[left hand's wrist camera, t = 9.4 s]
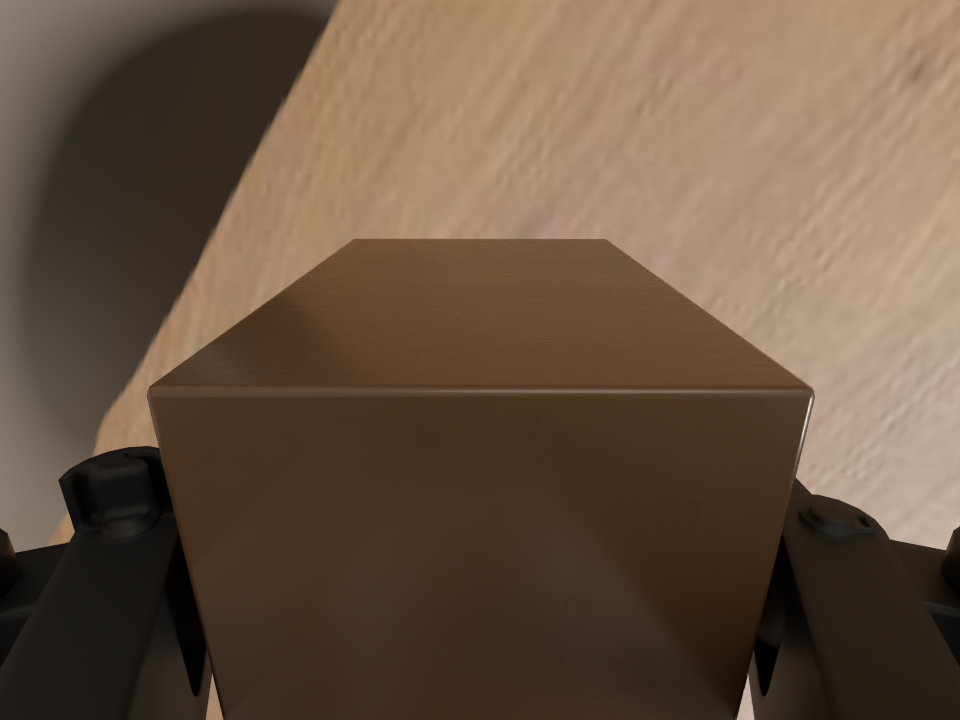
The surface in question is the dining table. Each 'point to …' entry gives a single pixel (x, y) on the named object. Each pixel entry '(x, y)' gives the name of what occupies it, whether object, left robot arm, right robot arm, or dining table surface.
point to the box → (480, 489)
